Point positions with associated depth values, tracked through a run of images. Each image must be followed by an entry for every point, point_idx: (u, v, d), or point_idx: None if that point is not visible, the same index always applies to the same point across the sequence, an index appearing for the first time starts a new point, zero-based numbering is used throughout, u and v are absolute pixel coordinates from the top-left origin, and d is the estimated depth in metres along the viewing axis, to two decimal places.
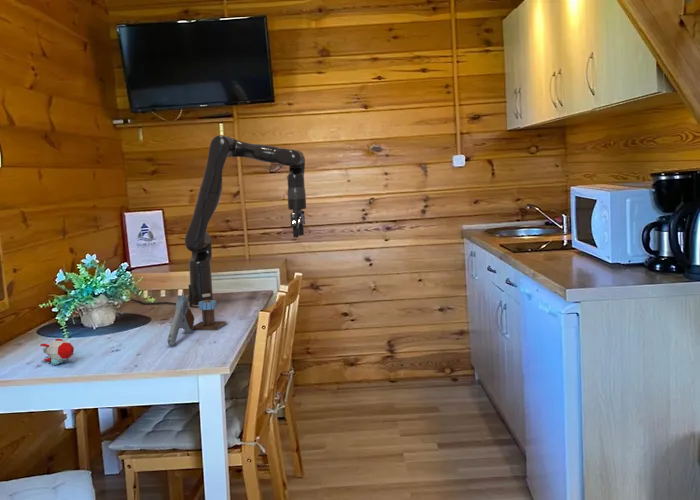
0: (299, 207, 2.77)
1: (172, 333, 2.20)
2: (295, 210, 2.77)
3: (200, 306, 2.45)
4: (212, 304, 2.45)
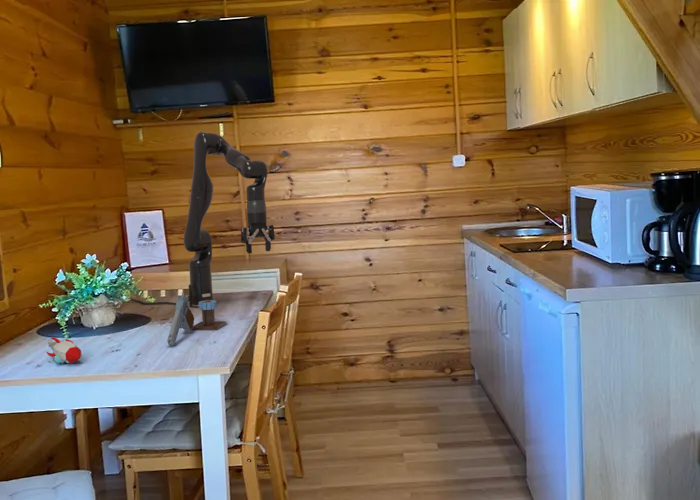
0: (252, 222, 2.61)
1: (172, 333, 2.20)
2: (249, 225, 2.62)
3: (200, 306, 2.45)
4: (212, 304, 2.45)
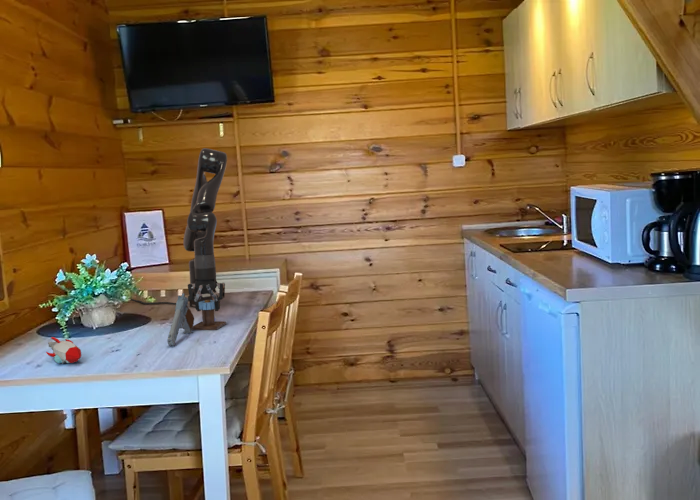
0: (195, 277, 2.45)
1: (172, 333, 2.20)
2: None
3: (200, 306, 2.45)
4: (212, 304, 2.45)
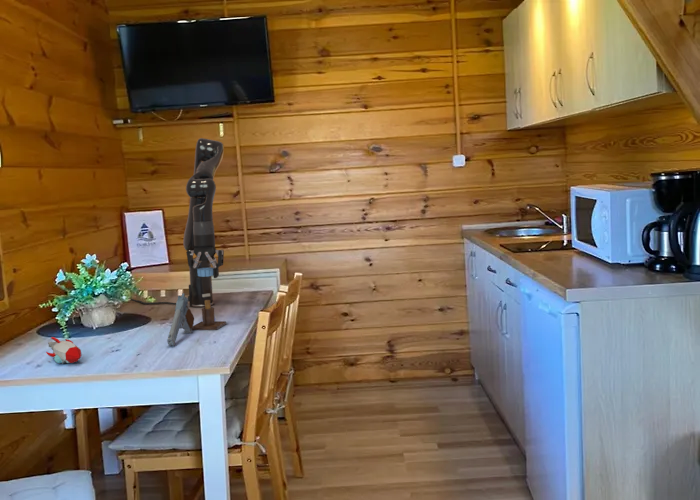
0: (194, 244, 2.45)
1: (172, 333, 2.20)
2: None
3: (199, 273, 2.45)
4: (211, 271, 2.45)
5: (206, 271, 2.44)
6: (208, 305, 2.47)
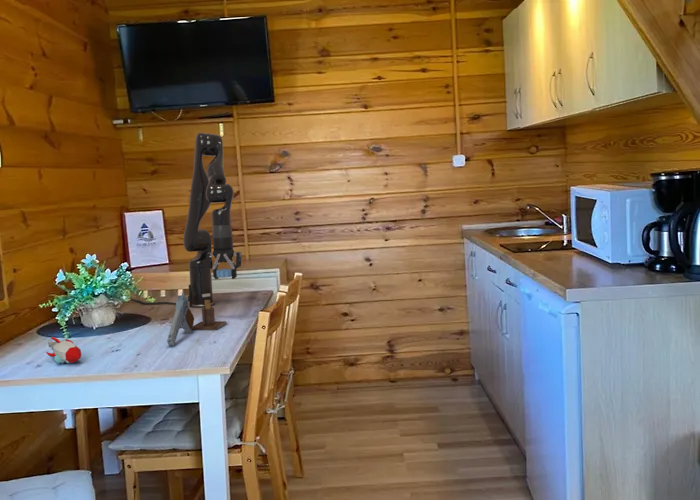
0: (213, 246, 2.58)
1: (172, 333, 2.20)
2: None
3: (218, 274, 2.58)
4: (229, 272, 2.58)
5: (225, 272, 2.57)
6: (208, 305, 2.47)
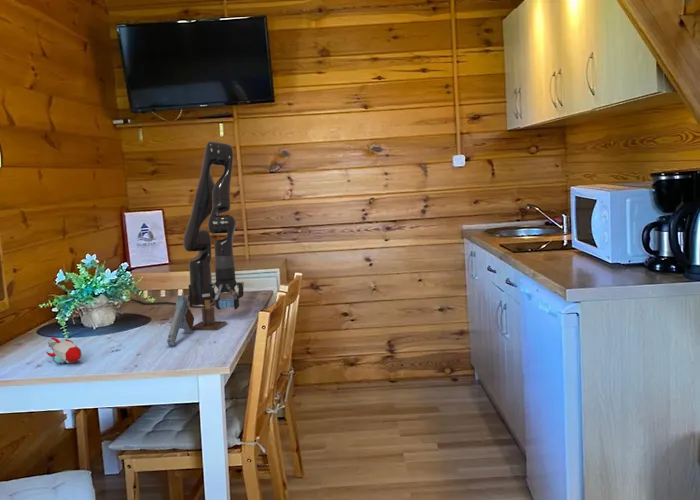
0: None
1: (172, 333, 2.20)
2: None
3: (220, 304, 2.59)
4: (232, 302, 2.59)
5: (227, 302, 2.58)
6: (208, 305, 2.47)
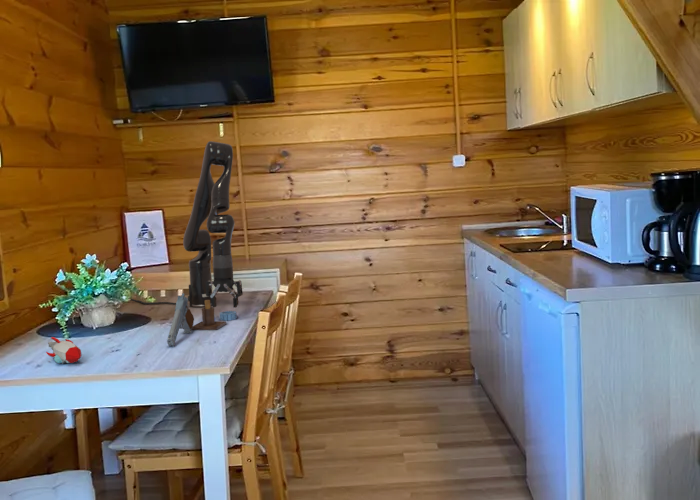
0: None
1: (172, 333, 2.20)
2: None
3: (221, 317, 2.59)
4: (232, 315, 2.59)
5: (228, 315, 2.58)
6: (208, 305, 2.47)
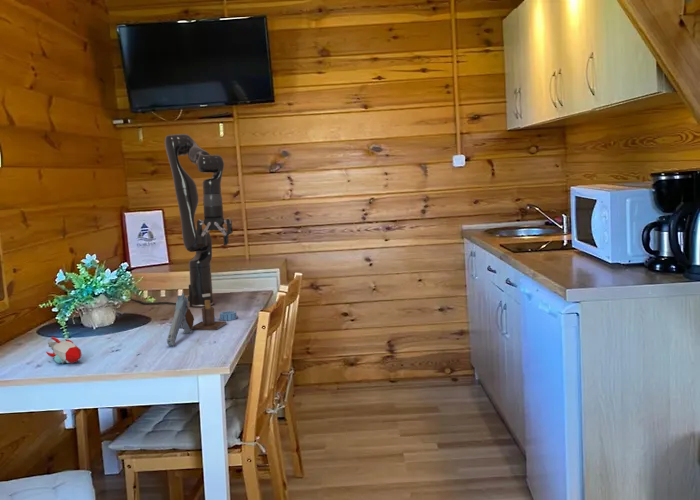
0: (204, 215, 2.67)
1: (172, 333, 2.20)
2: None
3: (221, 317, 2.59)
4: (232, 315, 2.59)
5: (228, 315, 2.58)
6: (208, 305, 2.47)
